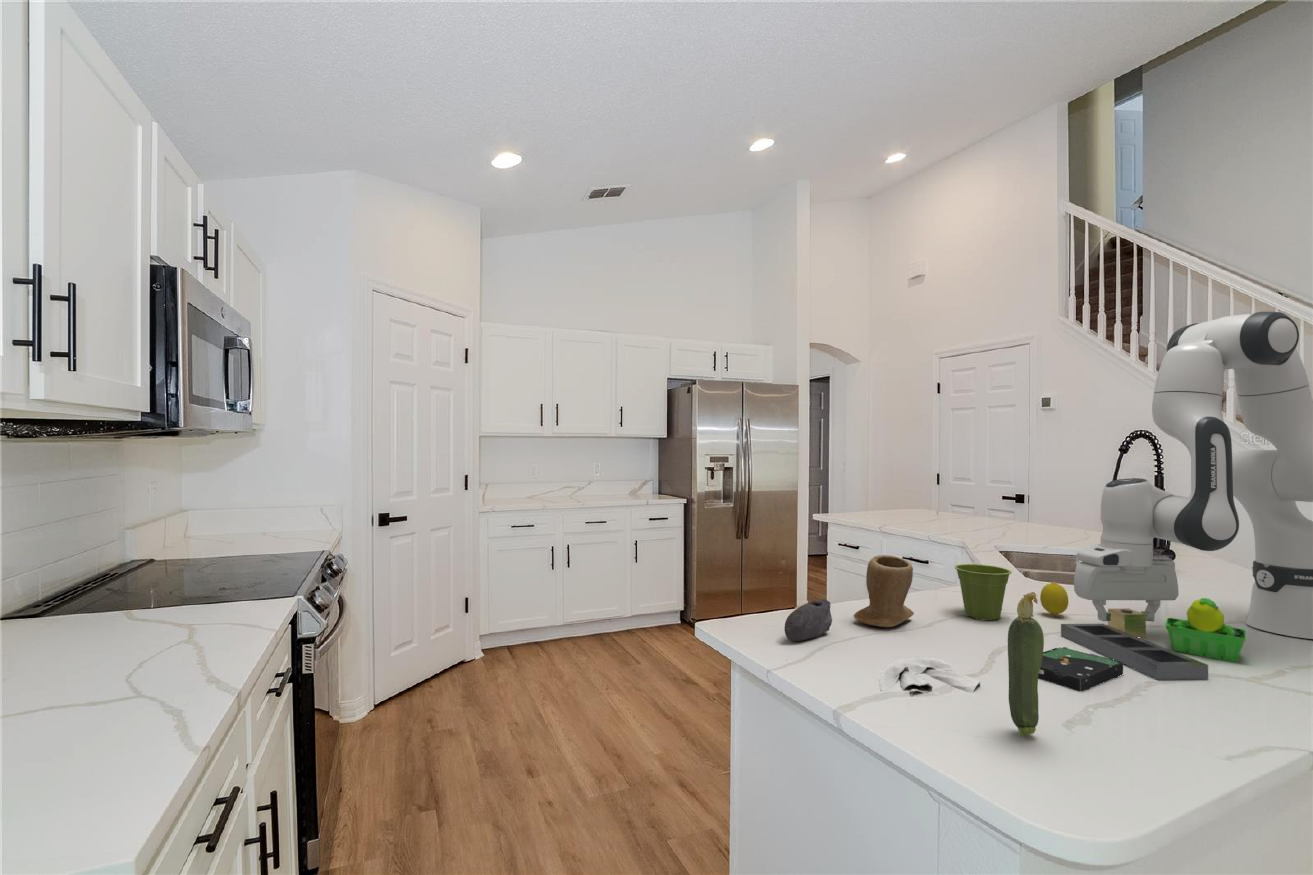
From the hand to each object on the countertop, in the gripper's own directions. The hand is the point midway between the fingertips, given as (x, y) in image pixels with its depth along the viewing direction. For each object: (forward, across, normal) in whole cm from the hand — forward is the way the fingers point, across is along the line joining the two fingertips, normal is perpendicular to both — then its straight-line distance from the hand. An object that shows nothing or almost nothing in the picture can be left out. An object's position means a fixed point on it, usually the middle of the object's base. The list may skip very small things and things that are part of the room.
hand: (1126, 620), depth 129 cm
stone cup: (+4, +46, -11) cm, 48 cm away
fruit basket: (+3, -6, +12) cm, 14 cm away
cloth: (+5, +54, +23) cm, 59 cm away
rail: (+3, +10, +12) cm, 16 cm away
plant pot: (+4, +22, -14) cm, 27 cm away
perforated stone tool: (+4, +68, -1) cm, 68 cm away
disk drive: (+4, +27, +20) cm, 34 cm away
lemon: (+3, +6, -14) cm, 16 cm away
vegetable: (+4, +49, +42) cm, 65 cm away
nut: (+3, 0, 0) cm, 3 cm away
